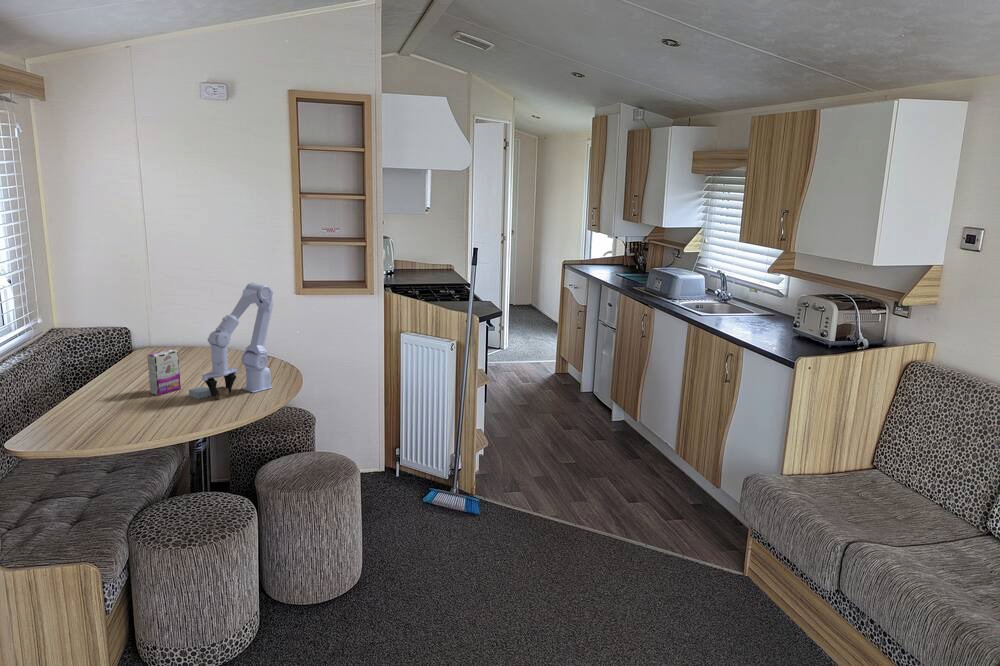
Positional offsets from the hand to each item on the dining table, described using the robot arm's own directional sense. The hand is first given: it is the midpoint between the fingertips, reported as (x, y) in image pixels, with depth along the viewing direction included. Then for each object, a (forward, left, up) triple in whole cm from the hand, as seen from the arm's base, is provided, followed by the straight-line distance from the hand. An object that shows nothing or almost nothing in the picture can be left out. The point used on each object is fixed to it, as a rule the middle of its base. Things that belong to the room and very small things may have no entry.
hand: (221, 394), depth 282 cm
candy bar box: (+10, -23, -2) cm, 25 cm away
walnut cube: (0, 0, -2) cm, 2 cm away
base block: (+4, -8, -2) cm, 9 cm away
